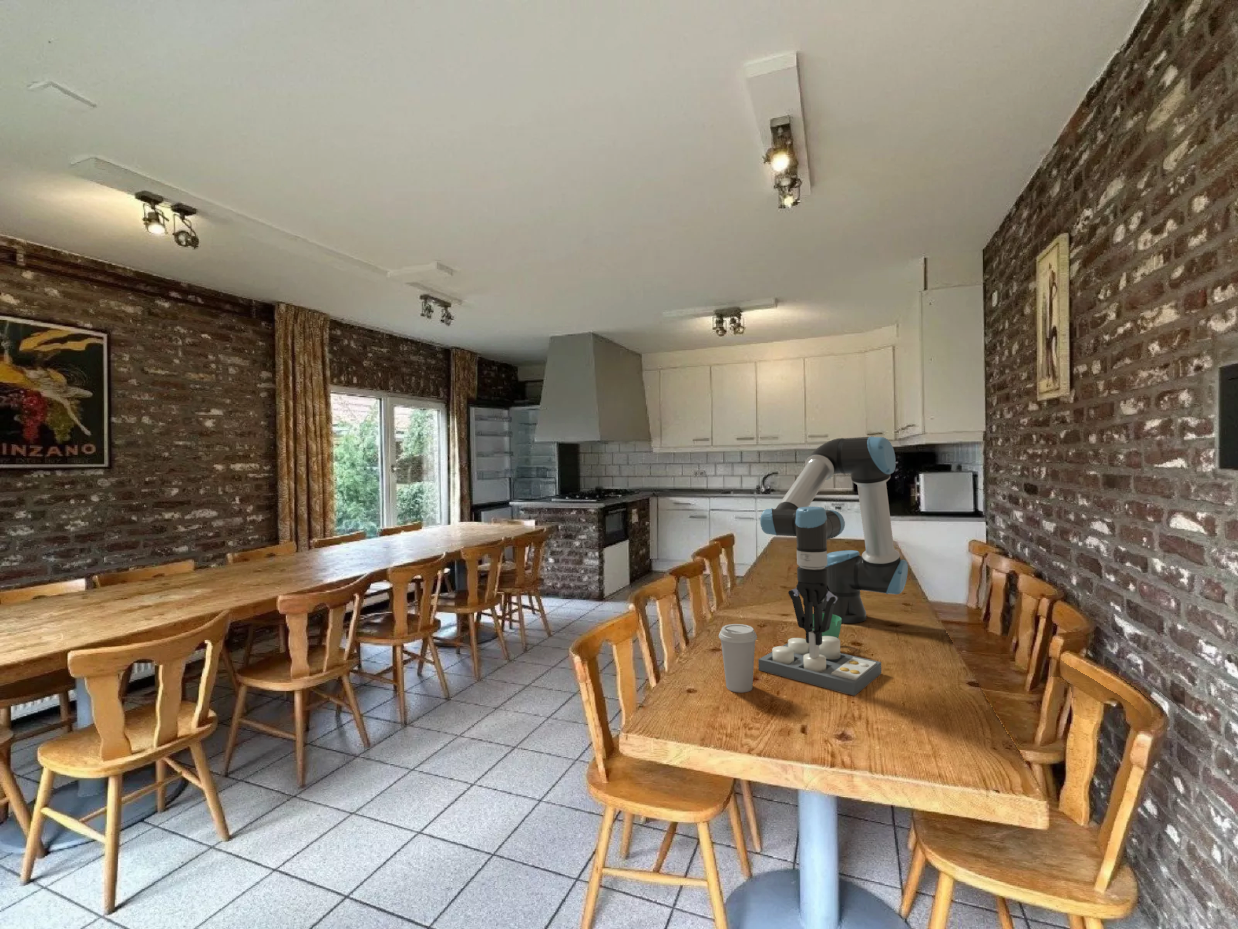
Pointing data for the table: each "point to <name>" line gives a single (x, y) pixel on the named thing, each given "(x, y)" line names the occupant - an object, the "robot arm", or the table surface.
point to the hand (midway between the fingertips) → (814, 656)
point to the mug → (832, 626)
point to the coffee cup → (738, 656)
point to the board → (827, 672)
